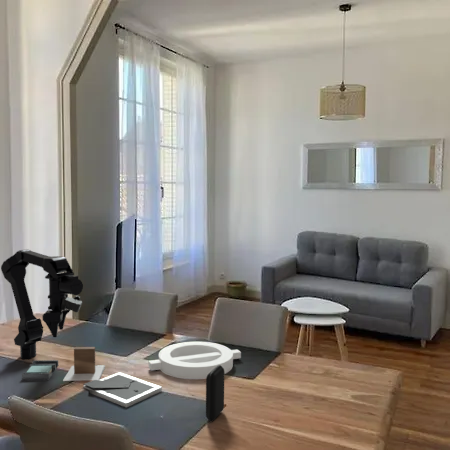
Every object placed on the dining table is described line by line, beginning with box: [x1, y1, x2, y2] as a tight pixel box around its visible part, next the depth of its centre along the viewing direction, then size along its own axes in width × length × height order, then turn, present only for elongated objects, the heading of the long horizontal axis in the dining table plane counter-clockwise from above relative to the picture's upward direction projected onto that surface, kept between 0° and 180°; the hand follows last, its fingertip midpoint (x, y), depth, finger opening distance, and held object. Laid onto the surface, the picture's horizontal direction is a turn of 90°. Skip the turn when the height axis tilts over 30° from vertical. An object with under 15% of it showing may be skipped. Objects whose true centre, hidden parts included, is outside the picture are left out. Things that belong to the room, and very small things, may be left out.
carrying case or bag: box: [205, 365, 225, 422], centre depth 153 cm, size 11×3×15 cm, turn 159°
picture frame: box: [82, 371, 163, 408], centre depth 171 cm, size 16×3×21 cm
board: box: [62, 364, 106, 382], centre depth 183 cm, size 14×12×1 cm
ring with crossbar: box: [147, 341, 242, 380], centre depth 195 cm, size 28×28×5 cm
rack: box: [20, 359, 59, 382], centre depth 183 cm, size 14×9×3 cm, turn 4°
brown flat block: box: [73, 346, 96, 374], centre depth 183 cm, size 2×7×9 cm, turn 94°
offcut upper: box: [26, 366, 52, 373], centre depth 181 cm, size 6×7×1 cm
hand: (58, 333), depth 189 cm, fingers open, 9 cm apart
